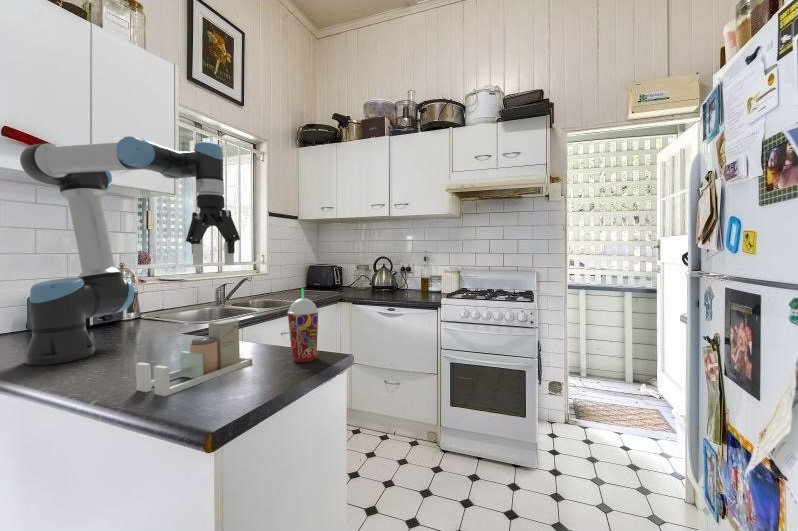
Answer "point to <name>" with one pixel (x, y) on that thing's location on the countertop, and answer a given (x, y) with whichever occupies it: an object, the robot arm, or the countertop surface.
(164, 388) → the lane
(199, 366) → the pusher
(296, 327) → the smoothie
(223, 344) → the skincare box
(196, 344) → the jar
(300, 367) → the countertop surface
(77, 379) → the countertop surface
